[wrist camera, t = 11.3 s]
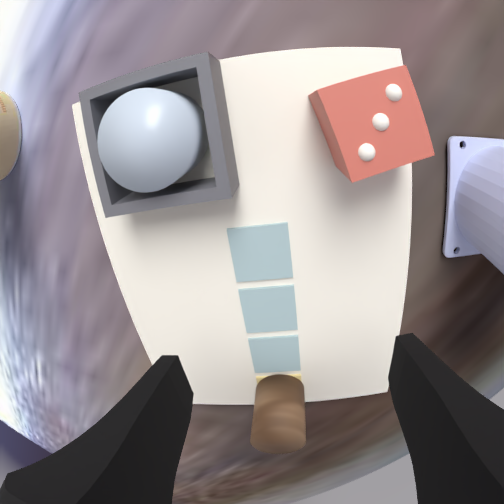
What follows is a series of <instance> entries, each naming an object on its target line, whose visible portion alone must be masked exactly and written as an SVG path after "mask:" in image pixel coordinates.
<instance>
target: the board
mask: <svg viewBox="0 0 504 504" xmlns="http://www.w3.org/2000/svg"><path fill="white" fill-rule="evenodd" d="M398 66H403V62H402V56H401V50H400V49H396V48H376V47H328V48H308V49H295V50H284V51H274V52H266V53H258V54H251V55H244V56H238V57H232V58H227V59H221V60H217V59H216V58H215V57H214V56H213V55H211V54H210V53H209V52H205V53H200V54H196V55H191V56H187V57H183V58H179V59H175V60H172V61H168V62H164V63H161V64H157V65H154V66H151V67H147V68H144V69H141V70H138V71H135V72H132V73H129V74H126V75H123V76H120V77H117V78H115V79H112V80H109V81H107V82H104V83H101V84H99V85H96V86H94V87H91V88H89V89H86V90H84V91H82V92H79V98H80V102H78V103H75V104H73V105H72V108H73V114H74V120H75V126H76V131H77V137H78V142H79V147H80V151H81V156H82V161H83V165H84V170H85V174H86V178H87V182H88V186H89V190H90V194H91V198H92V201H93V205H94V209H95V212H96V216H97V219H98V223H99V226H100V229H101V233H102V236H103V239H104V242H105V246H106V249H107V252H108V255H109V258H110V261H111V264H112V267H113V269H114V272H115V275H116V278H117V281H118V283H119V286H120V289H121V292H122V294H123V297H124V299H125V302H126V305H127V307H128V310H129V312H130V315H131V317H132V320H133V322H134V324H135V327H136V329H137V332H138V334H139V336H140V338H141V341H142V343H143V345H144V348H145V350H146V352H147V354H148V356H149V359H150V361H151V363H152V365H153V364H154V363H155V362H156V361H157V360H158V359H159V358H160V357H161V355H178V356H179V359H180V362H181V364H182V367H183V369H184V372H185V374H186V376H187V379H188V381H189V384H190V386H191V388H192V391H193V393H194V396H193V404H220V405H252V404H254V402H255V393H256V386H257V384H258V382H259V381H260V380H262V379H263V378H265V377H267V376H271V375H276V374H284V375H290V376H293V377H295V378H297V379H299V380H300V381H301V382H302V383H303V385H304V394H305V402H312V401H323V400H333V399H341V398H349V397H357V396H364V395H371V394H377V393H383V392H387V391H388V386H389V381H388V374H389V370H390V365H391V360H392V354H393V349H394V343H395V337H396V336H399V333H400V327H401V320H402V314H403V307H404V299H405V291H406V283H407V273H408V263H409V250H410V235H411V212H412V163H409V164H406V165H403V166H400V167H397V168H394V169H391V170H388V171H385V172H382V173H379V174H376V175H374V176H371V177H368V178H365V179H362V180H359V181H356V182H353V183H352V182H351V181H350V180H349V179H348V178H347V177H346V176H345V175H344V174H343V173H342V172H341V171H340V170H339V169H338V168H337V167H336V166H335V163H334V160H333V157H332V155H331V152H330V149H329V147H328V144H327V141H326V139H325V136H324V134H323V131H322V129H321V126H320V124H319V121H318V119H317V116H316V114H315V111H314V109H313V107H312V104H311V102H310V99H309V97H308V95H310V94H311V93H313V92H314V91H316V90H318V89H321V88H324V87H327V86H330V85H333V84H336V83H339V82H343V81H346V80H349V79H353V78H356V77H360V76H363V75H367V74H371V73H374V72H378V71H382V70H386V69H390V68H394V67H398ZM139 88H156V89H163V90H169V91H175V92H180V93H183V94H185V95H187V96H189V97H191V98H192V99H193V100H195V101H196V102H197V103H198V104H199V105H200V107H201V108H202V109H203V111H204V117H205V123H206V129H207V135H208V141H209V143H208V147H207V150H206V152H205V155H204V156H203V158H202V160H201V161H200V162H199V163H198V165H197V166H196V167H195V168H193V169H192V170H191V171H189V172H188V173H187V174H185V175H184V176H182V177H181V178H179V179H178V180H177V181H175V182H174V183H172V184H171V185H169V186H167V187H166V188H164V189H161V190H159V191H155V192H148V193H143V192H135V191H132V190H129V189H126V188H124V187H122V186H121V185H119V184H118V183H117V182H115V181H114V180H113V179H112V178H111V177H110V176H109V174H108V173H107V171H106V170H105V168H104V166H103V164H102V162H101V159H100V156H99V152H98V143H97V139H98V130H99V126H100V123H101V120H102V118H103V116H104V114H105V112H106V111H107V109H108V108H109V107H110V105H111V104H112V103H113V102H114V101H115V100H116V99H117V98H119V97H120V96H121V95H123V94H125V93H127V92H129V91H132V90H135V89H139Z"/></svg>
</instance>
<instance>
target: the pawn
mask: <svg viewBox="0 0 504 504" xmlns="http://www.w3.org/2000/svg"><path fill="white" fill-rule="evenodd" d="M250 442H251V445H252V446H253V447H254V448H256V449H257V450H259V451H262V452H265V453H271V454H286V453H291V452H295V451H297V450H299V449H301V448H302V447H303V446H304V445H305V443H306V424H305V394H304V385H303V383H302V382H301V381H300V380H299V379H297V378H295V377H293V376H290V375H284V374H276V375H271V376H267V377H265V378H263V379H262V380H260V381H259V382H258V384H257V386H256V393H255V402H254V411H253V420H252V429H251V438H250Z"/></svg>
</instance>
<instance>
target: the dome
mask: <svg viewBox="0 0 504 504" xmlns="http://www.w3.org/2000/svg"><path fill="white" fill-rule="evenodd" d="M97 143H98V152H99V156H100V159H101V162H102V164H103V166H104V168H105V170H106V171H107V173H108V174H109V176H110V177H111V178H112V179H113V180H114V181H115V182H117V183H118V184H119V185H121V186H122V187H124V188H126V189H129V190H132V191H135V192H143V193H148V192H155V191H159V190H161V189H164V188H166V187H167V186H169V185H171V184H172V183H174V182H175V181H177V180H178V179H179V178H181V177H182V176H184V175H185V174H187V173H188V172H189V171H191V170H192V169H193V168H195V167H196V166H197V165H198V163H199V162H200V161H201V160H202V158H203V156H204V155H205V152H206V150H207V147H208V143H209V141H208V135H207V129H206V123H205V117H204V111H203V109H202V108H201V107H200V105H199V104H198V103H197V102H196V101H195V100H193V99H192V98H191V97H189V96H187V95H185V94H183V93H180V92H175V91H169V90H163V89H156V88H139V89H135V90H132V91H129V92H127V93H125V94H123V95H121V96H120V97H119V98H117V99H116V100H115V101H114V102H113V103H112V104H111V105H110V107H109V108H108V109H107V111H106V112H105V114H104V116H103V118H102V120H101V123H100V126H99V130H98V139H97Z"/></svg>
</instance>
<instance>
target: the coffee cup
mask: <svg viewBox="0 0 504 504" xmlns="http://www.w3.org/2000/svg"><path fill="white" fill-rule="evenodd" d="M21 137H22V127H21V118H20V114H19V110H18V107H17V105H16V103H15V101H14V99H13V98H12V97H11V96H10V95H9V94H8V93H6V92H4V91H0V180H2V179H4V178H5V177H6V176H7V175H9V173H10V172H11V171H12V169H13V168H14V166H15V164H16V161H17V159H18V156H19V152H20V146H21Z"/></svg>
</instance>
